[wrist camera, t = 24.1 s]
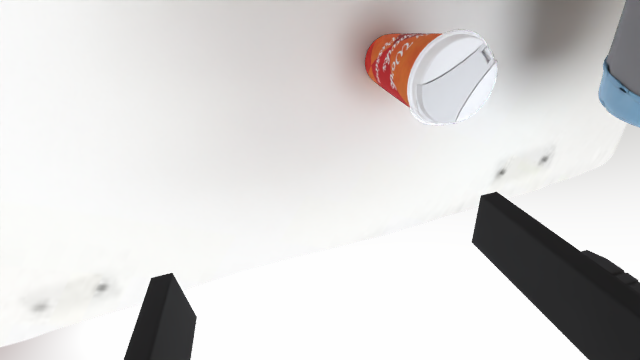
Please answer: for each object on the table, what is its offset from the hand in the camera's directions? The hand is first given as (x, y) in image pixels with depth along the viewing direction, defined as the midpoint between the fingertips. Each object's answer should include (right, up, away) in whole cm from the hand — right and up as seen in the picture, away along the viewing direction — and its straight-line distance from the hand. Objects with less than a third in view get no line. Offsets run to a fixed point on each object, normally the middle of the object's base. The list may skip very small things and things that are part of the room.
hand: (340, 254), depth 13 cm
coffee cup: (+8, +19, +26) cm, 33 cm away
